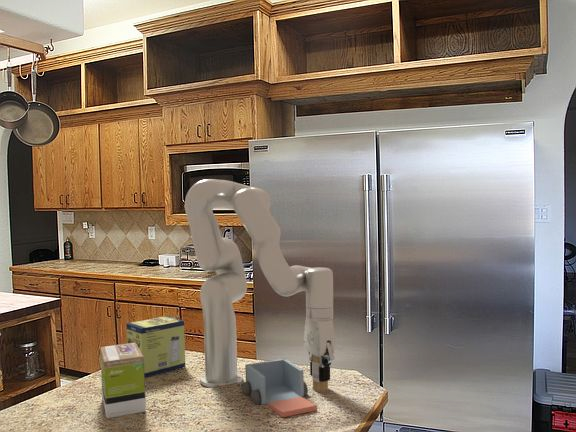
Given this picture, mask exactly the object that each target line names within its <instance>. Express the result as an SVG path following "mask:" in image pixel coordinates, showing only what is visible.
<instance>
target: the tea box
mask: <svg viewBox="0 0 576 432" xmlns="http://www.w3.org/2000/svg"><path fill="white" fill-rule="evenodd" d="M99 351H100V352H99V354H100V371H101V372H100V373H101V375H100V376H101V377H100V378H101V395H102V403H103V408H104V413H105V417H106V419H110V418H116V417H122V416H128V415H134V414H140V413H145V412H146V410H147V408H146V407H147V405H146V403H147V402H146V382H145V381H146V379H145V377H144V357H143V355H142V353H141V351H140V349H139V347H138V346H137V344H136V342H135V343H128V344H127V343H122V344H114V345H113V344H112V345H108V346H107V345H106V346H100V348H99Z"/></svg>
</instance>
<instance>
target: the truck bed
mask: <svg viewBox="0 0 576 432" xmlns="http://www.w3.org/2000/svg"><path fill="white" fill-rule="evenodd" d="M244 367H245V381H243V382H241V392H242V394H244V396H245V397H248V396H250V400H251V402H252V403H253V404H254V405H256V406H257V405H262V406H265V405H268V403H270V402H275V401H280V400H286V399H291V398H296V397H303V398H305V396H307V395H308V393H309V389H308V385H307V383H306V381H305V379H304V375H305V374H304V369H302V368H301V367H299V366H297V364H295V363H293V362H291V361H290V360H288V359H287V358H280V359H273V360H266V361H260V362H254V363H248V364H245V365H244Z"/></svg>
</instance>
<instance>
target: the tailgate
mask: <svg viewBox="0 0 576 432" xmlns="http://www.w3.org/2000/svg"><path fill="white" fill-rule="evenodd" d="M267 406H268V407H269V408H271V410H273V411H274V412H275V413H276V414H278V416H280V417H282V418H285V417H286V418H287V417H291V416H296V415H301V414H304V413H305V414H306V413H311V412H315V411H318V406H317V404H315V403H314V402H311V401H310V400H307V399H306V398H305V397H296V398H291V399H286V400H280V401H275V402H270V403H268V404H267Z"/></svg>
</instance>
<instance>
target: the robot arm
mask: <svg viewBox="0 0 576 432" xmlns="http://www.w3.org/2000/svg"><path fill="white" fill-rule="evenodd" d="M271 201H272V200H271V197H270V195H269V194H268V193H267V192H266V191H265V190H263V189H262V188H258V187H254V186H250V185H246V184H242V183H238V182H235V181H231V180H226V179H216V178H209V179H207V178H206V179H205V178H204V179H202V180H199V181H197V182H195V183H194V184H193V185H192V186H191V187H190V188H189V189H188V191H187V193H186V196H185V201H184V210H185V215H186V218H187V222H188V225H189V229H190V235H191V240H192V245H193V249H194V252H195V253H194V254H195V257H196V261H197V264H198V266H199V268H200V269H202V270H203V271H205V272H214V271H215V272H216V274H214V275H212V276H210V277H209V278H207V279H206V280H205V281H204V282H203V283H202V285H201V287H200V291H199V298H200V304H201V307H202V317H203V337H204V339H203V340H204V342H203V343H204V344H203V345H204V374H203V375H201V376H200V377H199V383H200V385H202V386H204V387H206V388H207V387H208V388H215V387H223V386H224V387H225V386H230V385H234V384H239V383H242V381H244V378H243V377H244V376H243V374H242V373H240V372H239V371H238V347H237V345H238V344H237V320H236V319H237V318H236V314H235V310H234V307H233V305H234V304H233V303H236V302H238V301H240V300H241V299H243V298H244V297H245V295H246V293H247V290H248V281H247V277H246V272H245V267H244V263H243V258H242V255H241V252H240V249H239V246H238V245H237V244H236V242H234V240H232V239H230V238H228V237H222V234H221V231H220V226H219V221H218V219H217V218H216V216H215V214H214V212H213V210H214V209H215V208H217V209H219V208H224V209H229V210H233V211H234V212H235V213H236V215H237V217H238V219H239V220H240V222H241V224H242V225H243V227H244V228H245V230H246V232H247V235H249V237H250V239H251V240H252V242H253V244H254V247H255V253H256V257H257V261H258V265H259V267H260V269H261V271H262V273H263V276H264V277H265V278H266V280H267V282H268V284H269V285H270V287H271V288H272V289H273V290H274V292H276V293H277V294H278V295H279V296H282V297H290V296H294V295H295V294H298V293H301V292H305V322H304V330H303V331H304V332H303V348H304V350H305V351H306V352H307V353H308V355H309V364H310V365H309V367H310V368H309V371H310V372H309V373H310V376H311V377H312V354H313V355H315V356H317V357H319V359H320V367H319V381H320V382H324V381H328V382H329V381H330V380H331V367H332V363H333V361H334V360H335V355H334V354H335V345H336V344H335V331H334V330H335V329H334V321H333V319H334V272H333V270H332V269H331V268H329V267H320V266H319V267H309V266H303V265H297V264H295V265H289V264H288V262H287V261H286V259H285V257H284V255H283V252H282V249H281V247H280V242H281V241H280V238H281V234H282V233H281V232H282V231H281V228H280V226H279V224H278V223H277V221H276V219H275V218H274V217H273V215H272V213H271V212H270V209H271V207H272V202H271ZM324 353H327V355H324ZM325 357H327V359H325V360H324V362H323V358H325Z"/></svg>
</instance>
